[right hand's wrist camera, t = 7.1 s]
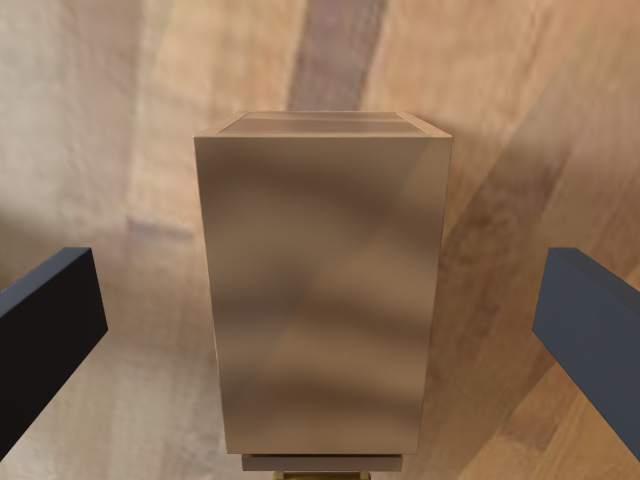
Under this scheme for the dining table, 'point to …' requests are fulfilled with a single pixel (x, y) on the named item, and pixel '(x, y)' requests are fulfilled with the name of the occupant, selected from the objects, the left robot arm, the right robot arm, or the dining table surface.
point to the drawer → (322, 465)
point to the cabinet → (322, 275)
